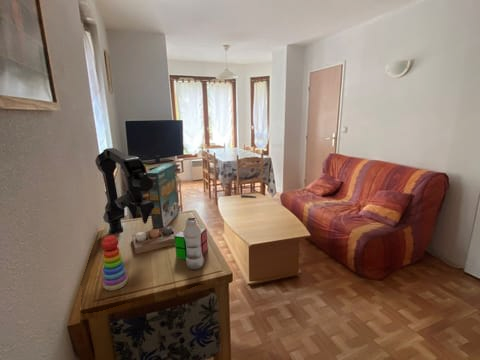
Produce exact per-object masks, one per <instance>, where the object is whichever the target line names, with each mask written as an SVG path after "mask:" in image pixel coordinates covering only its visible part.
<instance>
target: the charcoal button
mask: <svg viewBox="0 0 480 360" xmlns="http://www.w3.org/2000/svg"><path fill="white" fill-rule="evenodd" d="M171 226H172V225H167V226H166V227H164V228H163V234H164V236H166V235H171V234H173V232H172V227H173V226H172V227H171Z"/></svg>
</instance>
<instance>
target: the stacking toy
mask: <svg viewBox="0 0 480 360" xmlns="http://www.w3.org/2000/svg"><path fill="white" fill-rule="evenodd" d="M118 245H119V239H118V237H117V236H116V235H112V234H108V235H105V236H104V237H103V239H102V240H101V247H102V248H103V249H104V250H103V251H102V254H103V255H102V256H103V257H102V259H103V268H102V271H103V273H102V276H103V277H102V282H103V283H102V287H103V288H104V290H106V291H116V290H119V289H121V288H123V287H124V286H125V285H126V284H127V283H128V281H129V279H128V278H129V277H128V276H127V272H126V267H125V266H124V262H123V258H122V255H121V253H120V248H119V247H118Z"/></svg>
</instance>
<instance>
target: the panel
mask: <svg viewBox="0 0 480 360" xmlns="http://www.w3.org/2000/svg"><path fill="white" fill-rule="evenodd" d="M170 226H171V227H172V232H173V234H171V235H166V236H164V234H163V228H159V233H160V237H158V238H154V239H151V238H150V231H151V230H152V229H150V230H147V231H144V232H145V233H146V239H147V240H145V241H141V242H137V239H136V234H137V233H133V234H131V237H132V243H133V248H134V251H135V254H136V255H138V254H141V253H145V252H149V251H153V250H157V249H161V248H165V247H168V246H172V245H175V239H174V236H175V235H177V234H178V233H177V232H176V229H175V228H174V227H173V225H170Z"/></svg>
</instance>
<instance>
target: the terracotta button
mask: <svg viewBox="0 0 480 360" xmlns="http://www.w3.org/2000/svg"><path fill="white" fill-rule="evenodd" d="M150 230H151V231H150ZM150 230H149V231H150V238H151V239H154V238H158V237H160V233H159V229H158V228H152V229H150Z"/></svg>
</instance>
